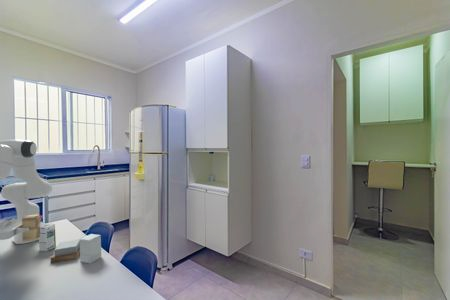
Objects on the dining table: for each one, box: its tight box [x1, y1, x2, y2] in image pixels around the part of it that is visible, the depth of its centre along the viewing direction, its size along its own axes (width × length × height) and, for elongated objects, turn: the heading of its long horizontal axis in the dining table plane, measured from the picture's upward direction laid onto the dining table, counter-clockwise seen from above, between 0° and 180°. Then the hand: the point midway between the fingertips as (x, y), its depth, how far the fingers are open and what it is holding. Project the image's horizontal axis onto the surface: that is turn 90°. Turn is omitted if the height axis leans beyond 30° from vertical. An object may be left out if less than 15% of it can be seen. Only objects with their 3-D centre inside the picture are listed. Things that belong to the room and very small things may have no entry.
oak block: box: [22, 213, 40, 242], centre depth 110 cm, size 5×5×12 cm
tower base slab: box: [49, 247, 80, 264], centre depth 122 cm, size 12×12×4 cm
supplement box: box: [79, 233, 102, 264], centre depth 117 cm, size 7×7×13 cm
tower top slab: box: [53, 238, 80, 256], centre depth 122 cm, size 10×10×4 cm
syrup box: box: [38, 223, 57, 252], centre depth 131 cm, size 6×6×14 cm
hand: (33, 226), depth 110 cm, fingers closed on oak block, 5 cm apart
